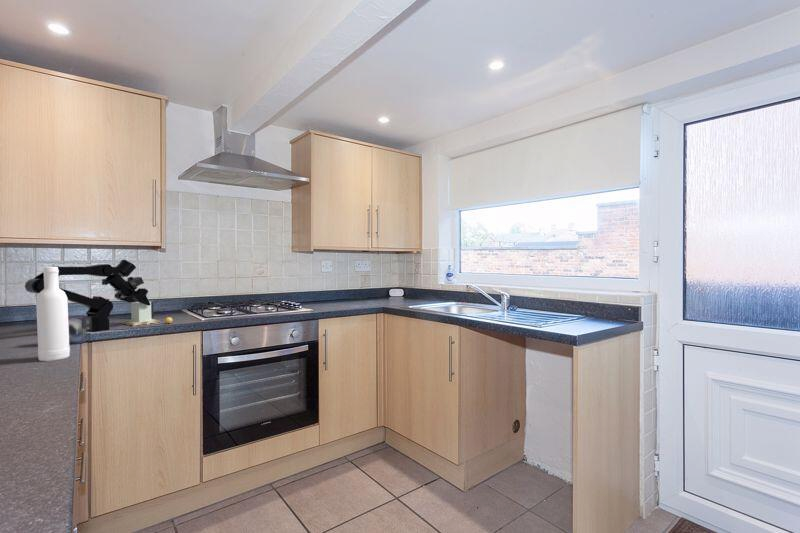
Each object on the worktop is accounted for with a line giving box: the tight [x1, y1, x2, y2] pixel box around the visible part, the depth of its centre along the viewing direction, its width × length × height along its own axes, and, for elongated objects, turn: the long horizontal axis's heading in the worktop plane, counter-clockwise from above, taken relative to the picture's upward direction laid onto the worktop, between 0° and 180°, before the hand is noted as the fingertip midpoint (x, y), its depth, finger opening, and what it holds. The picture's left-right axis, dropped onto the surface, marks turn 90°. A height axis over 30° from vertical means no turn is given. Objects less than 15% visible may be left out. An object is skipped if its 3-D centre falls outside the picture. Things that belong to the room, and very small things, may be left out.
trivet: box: [122, 318, 161, 327], centre depth 202 cm, size 12×12×1 cm
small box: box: [68, 314, 88, 346], centre depth 156 cm, size 11×6×10 cm, turn 113°
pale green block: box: [130, 302, 153, 322], centre depth 202 cm, size 6×6×10 cm
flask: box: [148, 300, 155, 319], centre depth 221 cm, size 9×3×11 cm, turn 109°
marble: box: [164, 316, 174, 324], centre depth 200 cm, size 3×3×3 cm
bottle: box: [35, 266, 71, 362], centre depth 133 cm, size 8×8×30 cm
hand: (143, 304), depth 203 cm, fingers open, 9 cm apart
